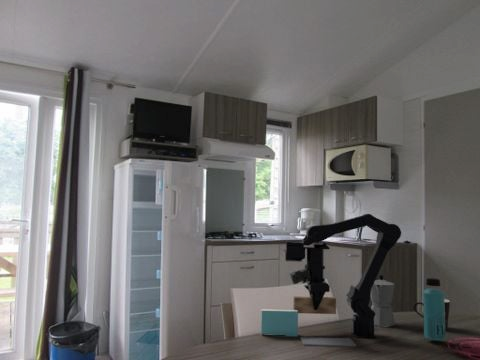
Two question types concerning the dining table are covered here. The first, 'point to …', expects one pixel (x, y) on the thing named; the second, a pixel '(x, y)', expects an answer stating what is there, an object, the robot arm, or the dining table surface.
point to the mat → (327, 342)
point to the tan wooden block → (307, 307)
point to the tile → (279, 322)
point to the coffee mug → (447, 305)
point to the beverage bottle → (434, 311)
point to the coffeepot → (382, 302)
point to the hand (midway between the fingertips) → (314, 308)
